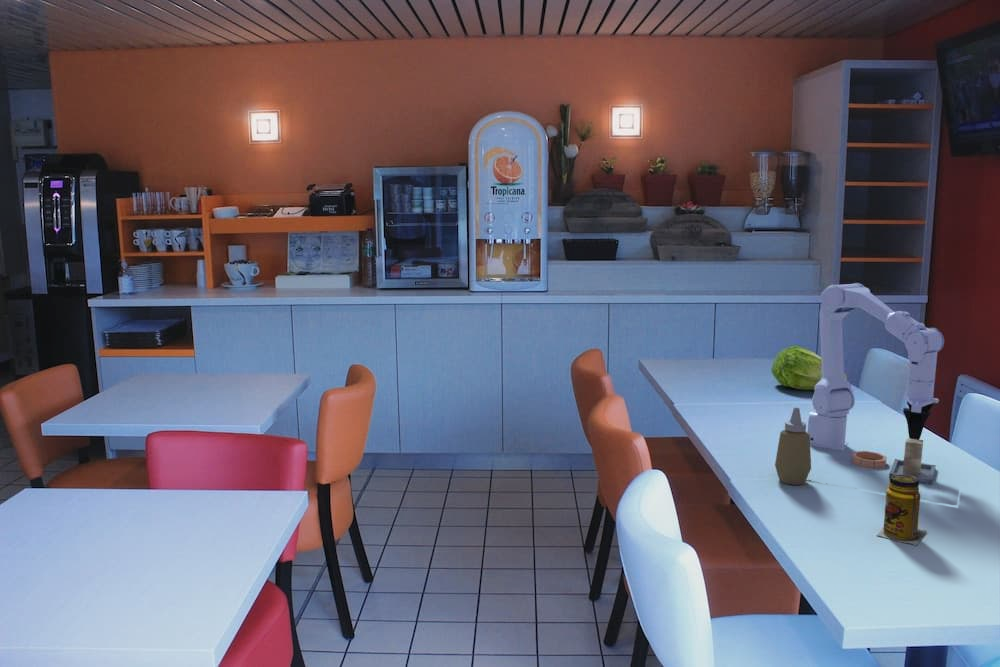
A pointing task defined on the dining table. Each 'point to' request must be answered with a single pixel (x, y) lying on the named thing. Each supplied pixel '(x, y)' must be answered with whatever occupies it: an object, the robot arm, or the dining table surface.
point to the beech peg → (912, 457)
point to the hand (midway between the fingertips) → (915, 434)
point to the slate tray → (924, 476)
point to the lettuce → (798, 368)
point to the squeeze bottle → (793, 451)
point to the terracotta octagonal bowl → (869, 459)
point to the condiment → (902, 510)
